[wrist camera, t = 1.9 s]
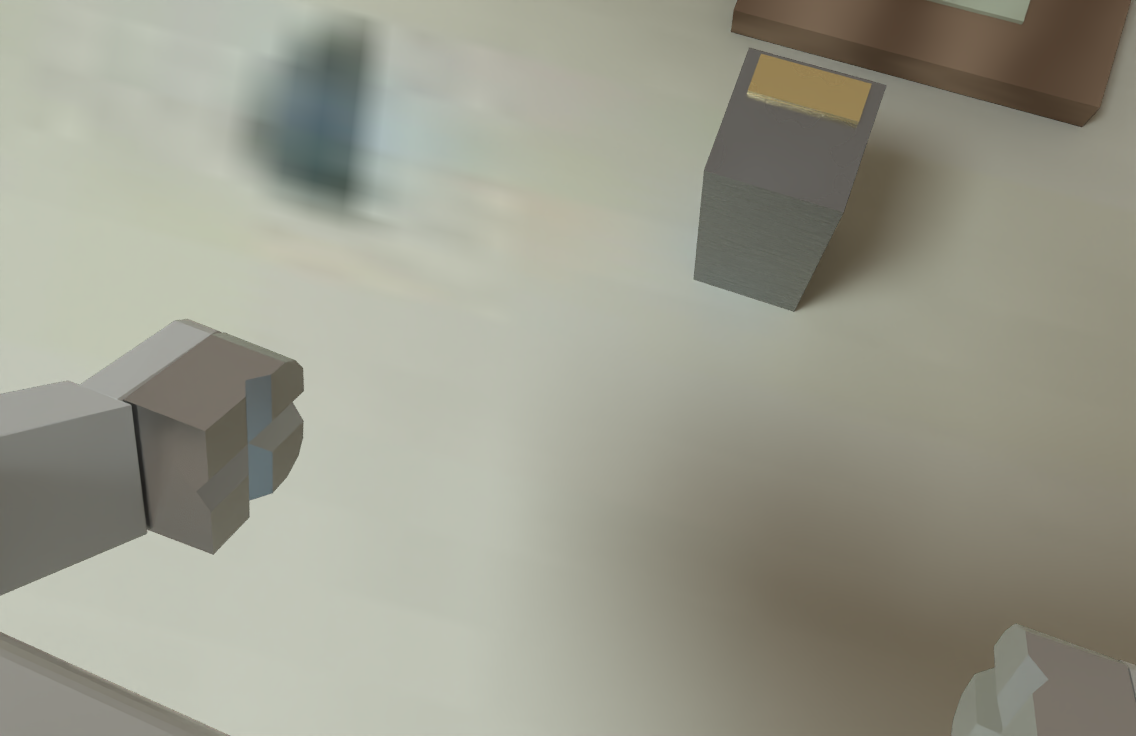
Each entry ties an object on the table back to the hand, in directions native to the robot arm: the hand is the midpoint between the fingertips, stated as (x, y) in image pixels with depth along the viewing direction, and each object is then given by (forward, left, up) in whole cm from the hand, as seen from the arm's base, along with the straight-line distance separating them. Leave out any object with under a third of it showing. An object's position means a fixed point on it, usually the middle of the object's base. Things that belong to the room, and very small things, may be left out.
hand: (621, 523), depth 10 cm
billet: (0, +12, -24) cm, 27 cm away
